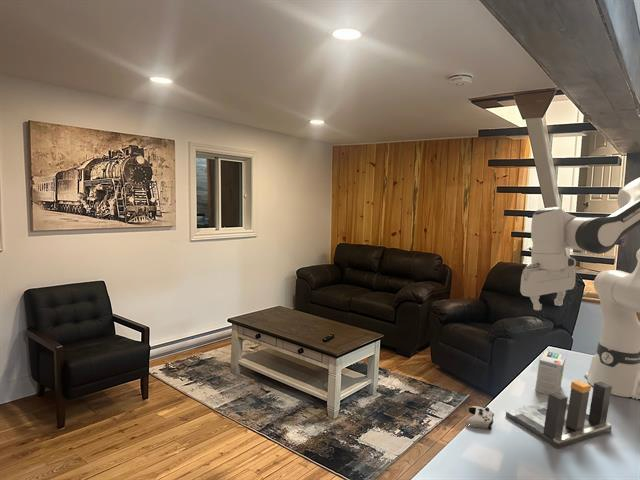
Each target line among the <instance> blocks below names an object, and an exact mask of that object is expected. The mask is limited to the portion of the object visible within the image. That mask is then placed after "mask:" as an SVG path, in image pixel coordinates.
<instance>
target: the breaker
mask: <svg viewBox="0 0 640 480" xmlns="http://www.w3.org/2000/svg"><path fill="white" fill-rule="evenodd" d="M591 387H592V385H591V384H590V383H588V382H584V381H582V380H579V379H577V380H573V381H571V384H570V388H571V389H570V393H569V394H570V395H569V401H568V404H569V406H568V413H567V419H566V426H568V427H570V428H571V429H573V430H575V431H579V430H582V429H584V423H585V417H586V414H587V410H588V403H589V396H590V392H591V389H592V388H591Z"/></svg>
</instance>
